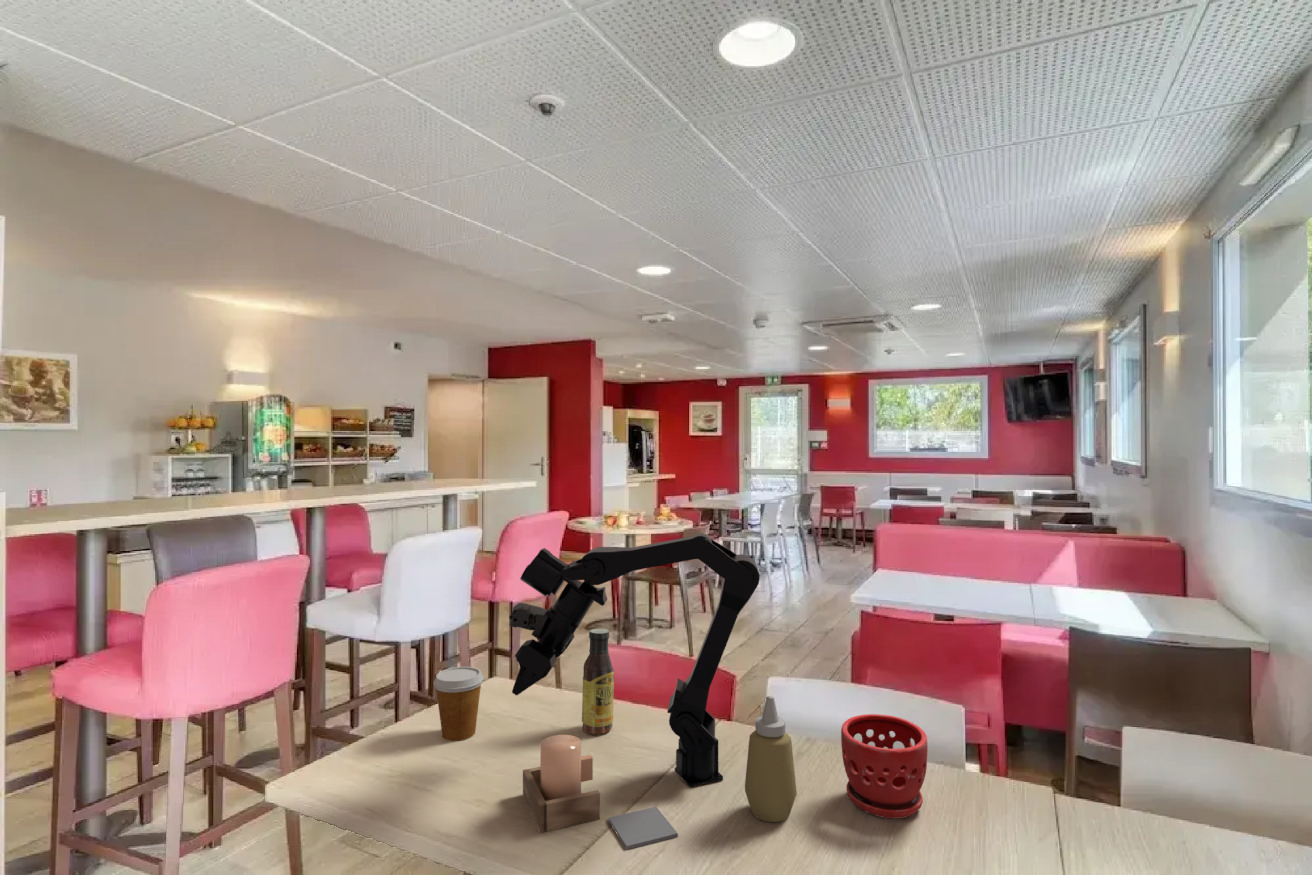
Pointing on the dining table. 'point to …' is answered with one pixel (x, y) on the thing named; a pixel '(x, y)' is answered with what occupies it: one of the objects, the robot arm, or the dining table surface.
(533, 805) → the open u-shaped wooden holder
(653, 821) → the rubber mat
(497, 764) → the dining table surface
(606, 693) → the sauce bottle
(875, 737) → the plant pot
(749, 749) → the squeeze bottle
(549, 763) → the tan cylinder
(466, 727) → the disposable coffee cup
